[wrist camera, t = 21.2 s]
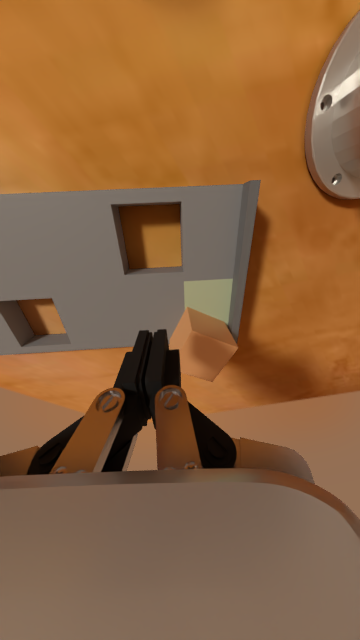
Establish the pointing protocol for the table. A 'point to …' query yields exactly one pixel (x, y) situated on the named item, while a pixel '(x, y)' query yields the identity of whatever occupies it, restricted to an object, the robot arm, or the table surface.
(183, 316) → the block
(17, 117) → the table surface
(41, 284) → the plate
